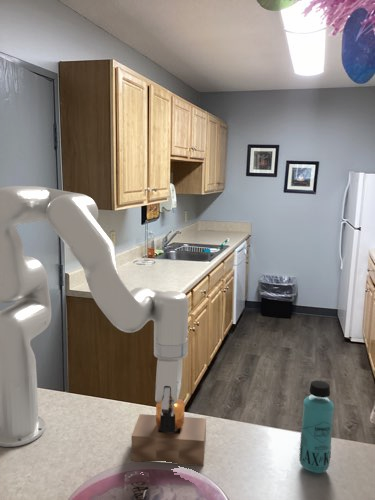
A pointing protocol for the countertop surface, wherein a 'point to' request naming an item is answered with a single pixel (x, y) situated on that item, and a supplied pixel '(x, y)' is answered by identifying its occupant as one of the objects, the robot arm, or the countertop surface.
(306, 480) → the countertop surface
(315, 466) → the beverage bottle
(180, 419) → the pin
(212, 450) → the countertop surface
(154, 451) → the block
